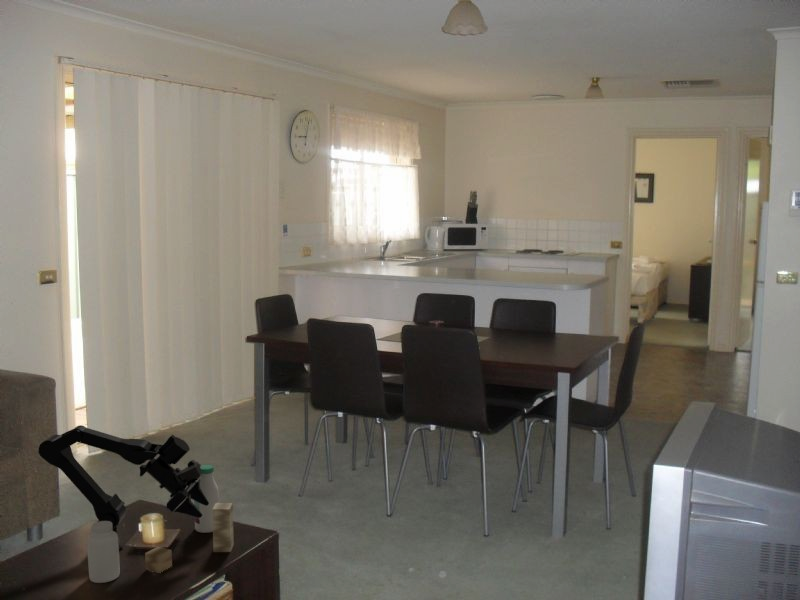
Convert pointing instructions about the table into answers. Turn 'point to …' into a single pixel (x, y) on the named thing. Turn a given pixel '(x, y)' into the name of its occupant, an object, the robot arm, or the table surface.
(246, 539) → the table surface
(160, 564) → the oak cube
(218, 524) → the maple block
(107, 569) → the pill bottle
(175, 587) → the table surface
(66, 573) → the table surface
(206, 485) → the milk bottle
